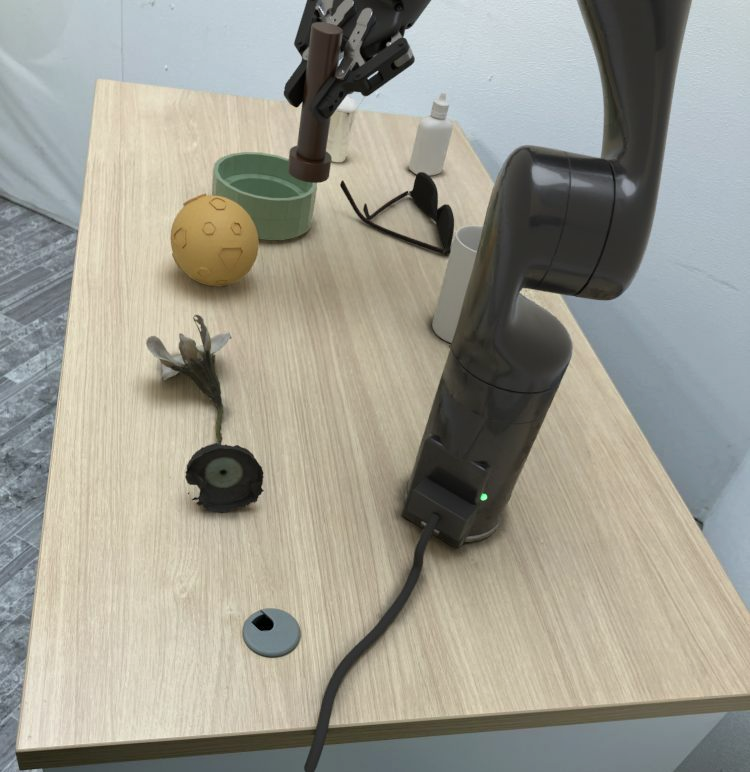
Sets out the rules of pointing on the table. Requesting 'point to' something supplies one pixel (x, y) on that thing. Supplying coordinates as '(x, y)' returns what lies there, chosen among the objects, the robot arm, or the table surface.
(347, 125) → the milkshake
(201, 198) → the stress ball
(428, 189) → the sunglasses
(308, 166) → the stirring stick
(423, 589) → the table surface
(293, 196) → the bowl
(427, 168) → the eye dropper bottle
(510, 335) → the robot arm
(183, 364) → the artificial flower
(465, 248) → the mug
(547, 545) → the table surface
